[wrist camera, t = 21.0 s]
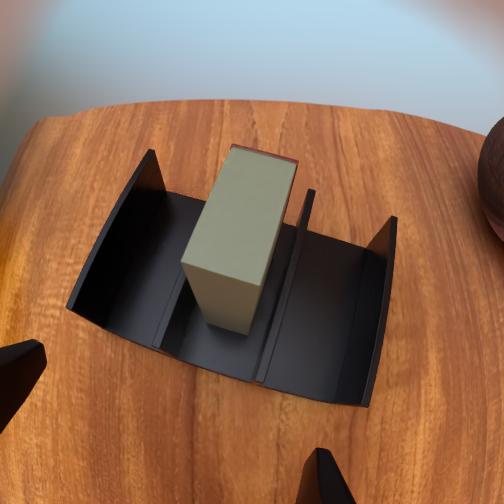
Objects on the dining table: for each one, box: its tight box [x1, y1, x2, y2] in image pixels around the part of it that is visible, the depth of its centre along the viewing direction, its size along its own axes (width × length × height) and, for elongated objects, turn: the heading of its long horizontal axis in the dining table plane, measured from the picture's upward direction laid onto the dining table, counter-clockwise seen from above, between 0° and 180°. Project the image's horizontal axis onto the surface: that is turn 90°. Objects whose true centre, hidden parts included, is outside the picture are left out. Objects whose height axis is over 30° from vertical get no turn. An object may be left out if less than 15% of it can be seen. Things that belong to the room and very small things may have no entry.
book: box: [181, 144, 299, 336], centre depth 17 cm, size 3×6×10 cm, turn 163°
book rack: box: [66, 149, 398, 408], centre depth 20 cm, size 18×12×6 cm
